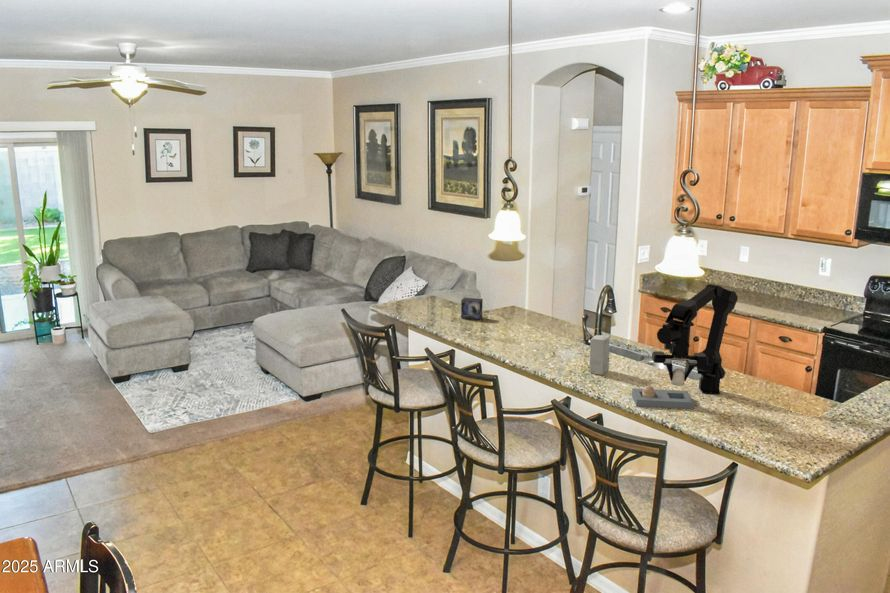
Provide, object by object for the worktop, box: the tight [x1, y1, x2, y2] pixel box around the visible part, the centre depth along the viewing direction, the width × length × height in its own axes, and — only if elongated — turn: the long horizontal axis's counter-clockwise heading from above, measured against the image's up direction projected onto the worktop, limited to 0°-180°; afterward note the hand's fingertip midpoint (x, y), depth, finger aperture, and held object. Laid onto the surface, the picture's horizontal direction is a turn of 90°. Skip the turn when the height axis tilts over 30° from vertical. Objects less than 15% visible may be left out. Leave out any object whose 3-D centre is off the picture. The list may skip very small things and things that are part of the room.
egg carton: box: [631, 385, 695, 410], centre depth 256 cm, size 20×12×6 cm, turn 83°
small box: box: [460, 297, 483, 321], centre depth 376 cm, size 11×6×10 cm, turn 73°
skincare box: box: [588, 334, 611, 376], centre depth 288 cm, size 8×6×15 cm
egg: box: [670, 368, 685, 387], centre depth 254 cm, size 4×4×6 cm
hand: (677, 380), depth 254 cm, fingers closed on egg, 4 cm apart
